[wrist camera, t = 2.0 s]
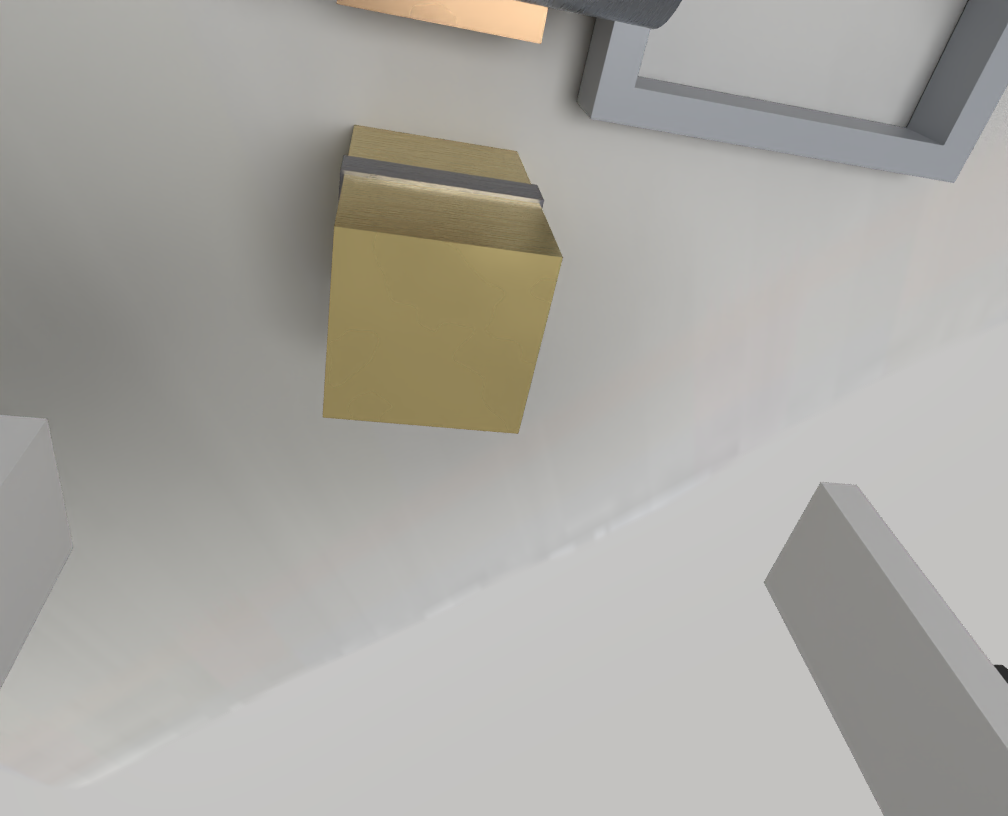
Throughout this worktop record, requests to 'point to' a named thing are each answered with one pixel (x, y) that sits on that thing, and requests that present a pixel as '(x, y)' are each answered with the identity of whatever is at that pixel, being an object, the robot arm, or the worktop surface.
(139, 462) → the worktop surface
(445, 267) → the gold rectangular block
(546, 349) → the worktop surface
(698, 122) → the cradle
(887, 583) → the robot arm
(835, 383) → the worktop surface
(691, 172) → the worktop surface
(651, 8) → the shaft
